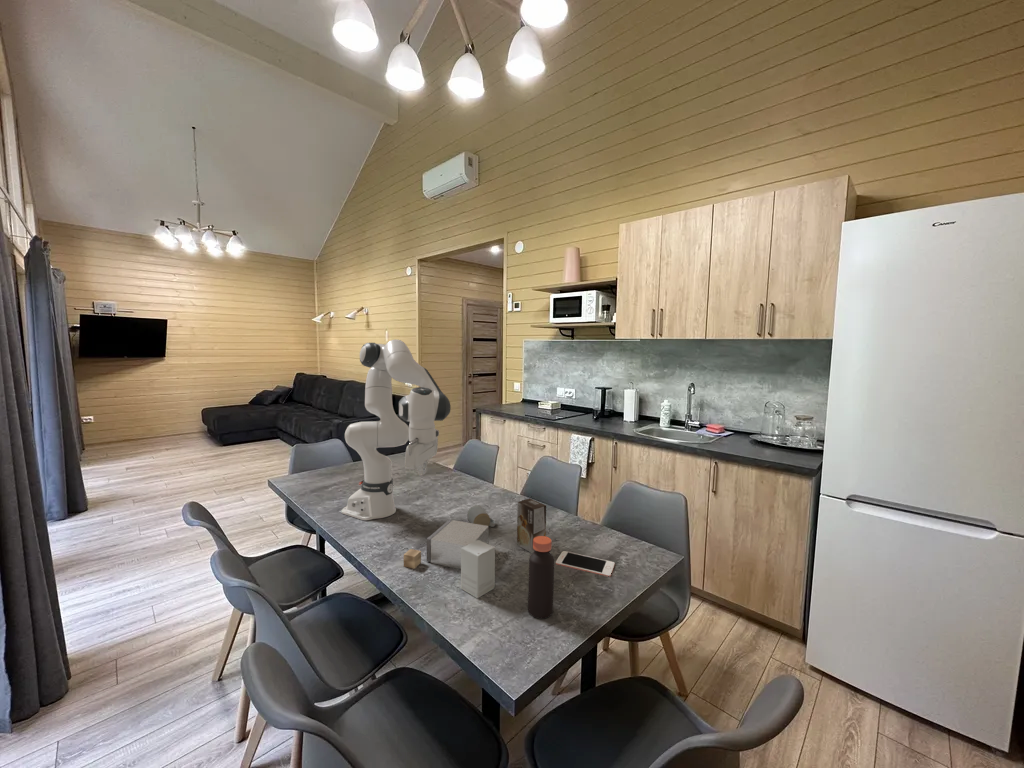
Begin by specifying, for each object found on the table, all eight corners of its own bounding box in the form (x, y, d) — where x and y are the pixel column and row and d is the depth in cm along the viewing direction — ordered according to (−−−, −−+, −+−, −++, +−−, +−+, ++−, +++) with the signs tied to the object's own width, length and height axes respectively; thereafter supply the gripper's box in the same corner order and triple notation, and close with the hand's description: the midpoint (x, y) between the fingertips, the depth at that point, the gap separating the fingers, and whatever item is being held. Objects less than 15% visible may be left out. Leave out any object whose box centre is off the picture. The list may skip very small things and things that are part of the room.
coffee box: (546, 549, 146) (547, 505, 145) (533, 554, 142) (534, 509, 140) (528, 539, 153) (529, 497, 152) (515, 544, 149) (516, 501, 147)
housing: (430, 562, 135) (430, 539, 134) (452, 541, 150) (452, 520, 150) (470, 570, 131) (470, 546, 130) (488, 547, 146) (488, 526, 145)
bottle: (538, 622, 107) (540, 548, 105) (522, 609, 112) (524, 538, 111) (558, 613, 111) (560, 541, 109) (541, 600, 116) (543, 532, 114)
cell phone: (610, 578, 129) (610, 575, 129) (555, 565, 136) (555, 562, 136) (615, 564, 137) (615, 562, 137) (562, 552, 144) (562, 550, 144)
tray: (423, 560, 136) (424, 538, 135) (446, 539, 151) (446, 519, 150) (465, 568, 131) (465, 546, 131) (484, 546, 146) (484, 525, 146)
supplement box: (495, 588, 122) (496, 547, 121) (477, 599, 116) (477, 556, 115) (478, 578, 127) (478, 538, 126) (459, 588, 121) (460, 547, 120)
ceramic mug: (473, 533, 157) (473, 513, 157) (466, 524, 165) (467, 505, 164) (498, 529, 162) (499, 510, 161) (491, 520, 169) (492, 502, 169)
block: (403, 566, 133) (403, 554, 132) (410, 560, 136) (410, 548, 136) (414, 568, 131) (414, 556, 131) (421, 562, 135) (421, 550, 135)
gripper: (418, 442, 131) (418, 485, 132) (440, 429, 151) (440, 466, 152) (399, 441, 132) (399, 483, 133) (424, 428, 152) (424, 465, 153)
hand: (421, 474), depth 143 cm, fingers closed
